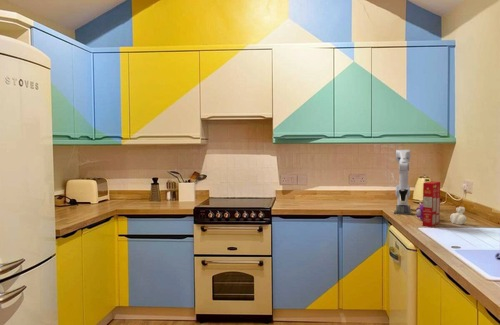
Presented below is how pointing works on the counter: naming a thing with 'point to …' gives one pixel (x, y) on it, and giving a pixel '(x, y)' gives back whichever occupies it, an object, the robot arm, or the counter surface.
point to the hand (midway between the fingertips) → (403, 200)
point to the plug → (403, 201)
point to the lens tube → (403, 210)
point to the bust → (458, 216)
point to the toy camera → (419, 211)
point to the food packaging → (431, 203)
